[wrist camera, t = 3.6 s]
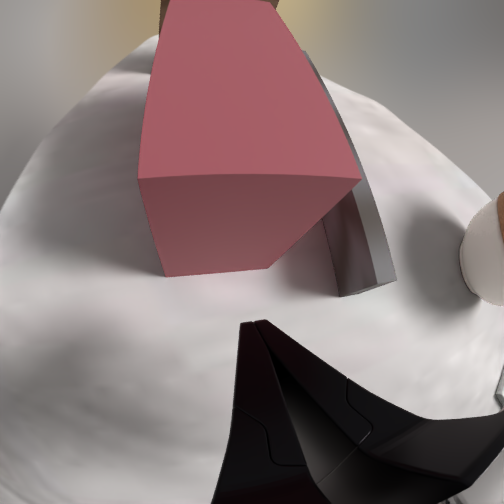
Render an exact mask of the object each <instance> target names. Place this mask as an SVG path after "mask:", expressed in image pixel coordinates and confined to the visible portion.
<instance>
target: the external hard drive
mask: <svg viewBox="0 0 504 504" xmlns="http://www.w3.org/2000/svg"><path fill="white" fill-rule="evenodd" d="M496 396H497V397H498V399H499V401H500V403H501V405H502V406H503V407H504V369H503V373H502V376H501V379H500V382H499V385H498V388H497V391H496Z"/></svg>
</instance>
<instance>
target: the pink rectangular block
mask: <svg viewBox="0 0 504 504" xmlns="http://www.w3.org/2000/svg"><path fill="white" fill-rule="evenodd" d="M137 179H138V183H139V187H140V191H141V195H142V199H143V203H144V207H145V210H146V214H147V218H148V221H149V225H150V228H151V232H152V235H153V239H154V242H155V245H156V248H157V252H158V255H159V258H160V261H161V264H162V267H163V270H164V273H165V276H166V277H176V276H189V275H201V274H212V273H224V272H235V271H246V270H257V269H267V268H269V267H270V266H271V265H272V264H273V263H274V262H275V261H277V260H278V259H279V258H280V257H281V256H282V255H283V254H284V253H285V252H286V251H287V250H288V249H289V248H290V247H292V246H293V245H294V244H295V243H296V242H297V241H298V240H299V239H300V238H301V237H302V236H303V235H304V234H305V233H306V232H308V231H309V230H310V229H311V228H312V227H313V226H314V225H315V224H316V223H317V222H318V221H319V220H320V219H321V218H322V217H323V216H324V215H325V214H327V213H328V212H329V211H330V210H331V209H332V208H333V207H334V206H335V205H336V204H337V203H338V202H339V201H340V200H341V199H342V198H343V197H344V196H345V195H346V194H347V193H348V192H349V191H350V190H351V189H352V188H354V187H355V186H356V185H357V184H358V183H359V182H360V181H361V180H362V177H361V174H360V171H359V169H358V166H357V163H356V161H355V158H354V156H353V153H352V151H351V148H350V146H349V144H348V141H347V139H346V137H345V134H344V132H343V130H342V127H341V125H340V123H339V121H338V119H337V116H336V114H335V112H334V110H333V108H332V106H331V104H330V102H329V100H328V98H327V96H326V94H325V92H324V90H323V88H322V86H321V84H320V82H319V80H318V78H317V76H316V75H315V73H314V71H313V69H312V67H311V66H310V64H309V62H308V60H307V59H306V57H305V55H304V53H303V52H302V50H301V49H300V47H299V45H298V43H297V42H296V40H295V39H294V37H293V35H292V34H291V32H290V31H289V29H288V28H287V26H286V25H285V23H284V22H283V20H282V19H281V17H280V16H279V14H278V13H277V11H276V10H275V9H274V7H273V6H272V4H271V3H270V2H265V1H259V0H170V2H169V5H168V8H167V12H166V15H165V18H164V22H163V25H162V29H161V33H160V37H159V41H158V45H157V49H156V53H155V57H154V62H153V67H152V71H151V76H150V82H149V87H148V93H147V99H146V105H145V111H144V118H143V126H142V134H141V143H140V153H139V164H138V178H137Z"/></svg>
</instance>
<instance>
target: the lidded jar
mask: <svg viewBox="0 0 504 504" xmlns="http://www.w3.org/2000/svg"><path fill="white" fill-rule="evenodd" d="M459 260H460V267H461V271H462V275H463V278H464V280H465V283H466V285H467V286H468V288H469V289H470V291H471V292H472V293H474V294H476V295H478V296H479V297H480V298H481V299H483V300H484V301H485V302H487V303H489V304H492V305H496V306H504V192H502V193H501V194H500V195H499V196H498V197H497V198H495V199H493V200H492V201H490V202H489V203H488V204H486V205H485V206H484V207H483V208H482V209H480V211H479V212H478V213H477V214H476V215H475V216H474V217H473V218H472V220H471V221H470V223H469V225H468V227H467V229H466V232H465V235H464V239H463V242H462V243H461V245H460V250H459Z"/></svg>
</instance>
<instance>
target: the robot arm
mask: <svg viewBox="0 0 504 504" xmlns="http://www.w3.org/2000/svg"><path fill="white" fill-rule="evenodd" d="M211 504H504V407H503V408H502V409H501V410H500V411H499V412H498V413H496V414H493V415H488V416H481V417H472V418H462V419H447V420H432V419H426V418H423V417H420V416H417V415H415V414H413V413H411V412H408V411H406V410H404V409H402V408H400V407H398V406H396V405H394V404H392V403H390V402H388V401H386V400H384V399H382V398H380V397H378V396H376V395H375V394H373V393H371V392H369V391H368V390H366V389H365V388H363V387H361V386H360V385H358V384H357V383H355V382H354V381H352V380H351V379H349V378H348V379H347V377H346V376H345V375H343V374H342V373H340V372H339V371H337V370H336V369H334V368H333V367H332V366H330V365H329V364H327V363H326V362H324V361H323V360H321V359H320V358H319V357H317V356H316V355H314V354H313V353H312V352H310V351H309V350H307V349H306V348H305V347H303V346H302V345H300V344H299V343H298V342H296V341H295V340H294V339H292V338H291V337H289V336H288V335H287V334H285V333H284V332H283V331H281V330H280V329H279V328H277V327H276V326H274V325H273V324H272V323H270V322H269V321H268V320H265V319H264V320H257V321H254V322H252V321H250V322H243V323H241V324H240V330H239V341H238V352H237V363H236V375H235V386H234V398H233V409H232V419H231V427H230V435H229V439H228V444H227V448H226V452H225V456H224V460H223V463H222V467H221V471H220V474H219V478H218V482H217V485H216V489H215V492H214V495H213V499H212V502H211Z"/></svg>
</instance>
